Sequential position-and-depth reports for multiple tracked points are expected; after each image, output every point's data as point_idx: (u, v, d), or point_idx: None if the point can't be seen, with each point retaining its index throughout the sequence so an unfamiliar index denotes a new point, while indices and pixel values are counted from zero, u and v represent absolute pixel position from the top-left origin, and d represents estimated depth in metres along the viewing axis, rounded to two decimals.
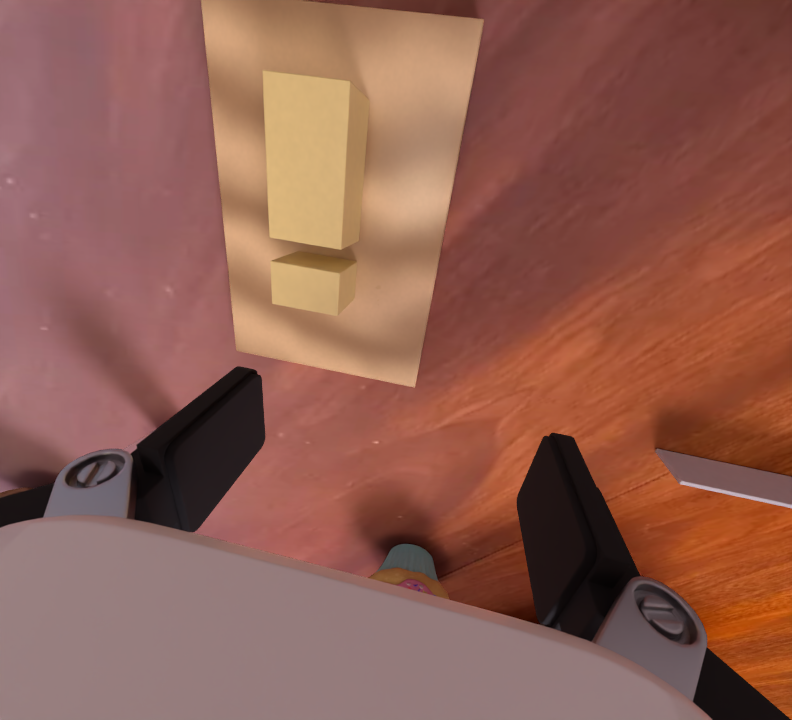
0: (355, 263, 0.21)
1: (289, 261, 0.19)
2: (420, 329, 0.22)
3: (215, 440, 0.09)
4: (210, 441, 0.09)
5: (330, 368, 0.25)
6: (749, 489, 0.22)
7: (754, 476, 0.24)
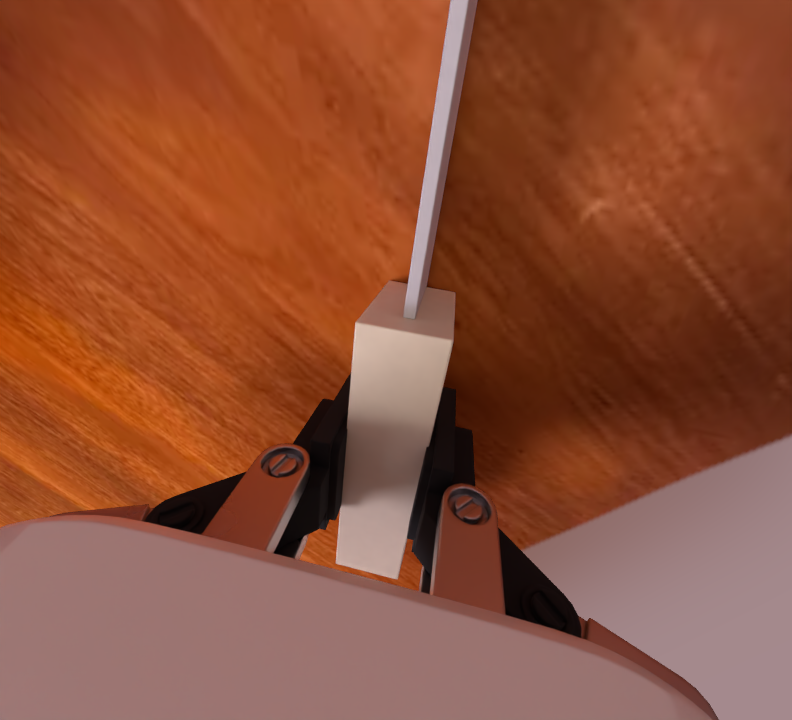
0: None
1: None
2: None
3: None
4: None
5: None
6: (465, 31, 0.06)
7: (451, 139, 0.08)
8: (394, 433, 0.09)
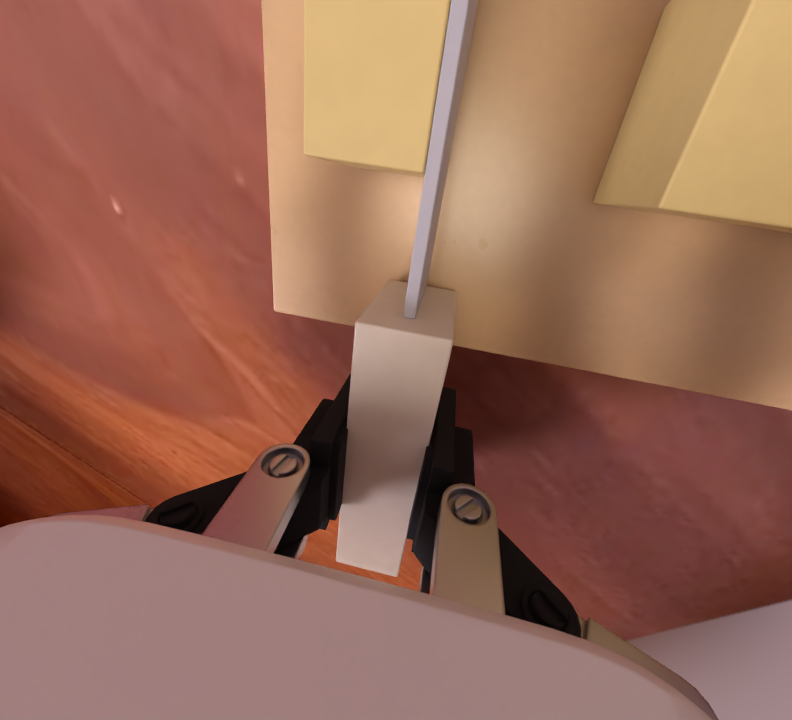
0: None
1: None
2: None
3: None
4: None
5: (269, 96, 0.09)
6: (466, 29, 0.06)
7: (451, 138, 0.08)
8: (394, 432, 0.09)
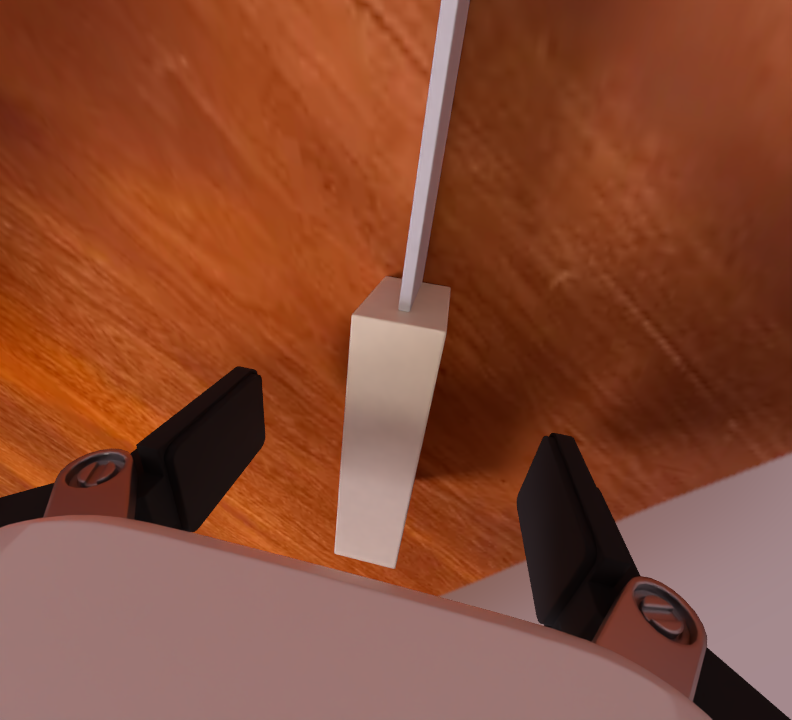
0: None
1: None
2: None
3: (215, 440, 0.09)
4: (210, 441, 0.09)
5: None
6: (456, 33, 0.06)
7: (444, 137, 0.08)
8: (389, 423, 0.09)
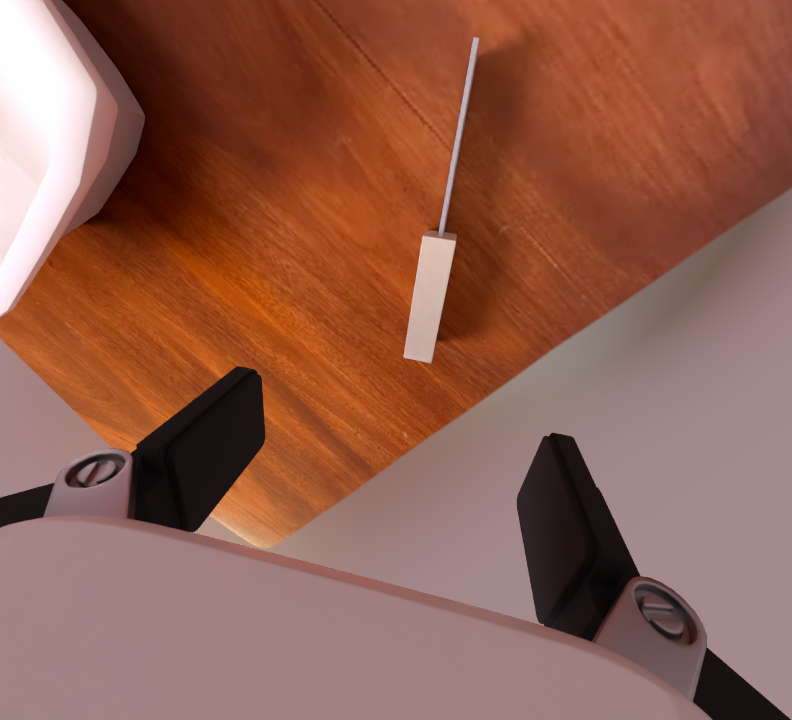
0: None
1: None
2: None
3: (215, 440, 0.09)
4: (210, 441, 0.09)
5: None
6: None
7: (455, 172, 0.22)
8: (433, 281, 0.23)
